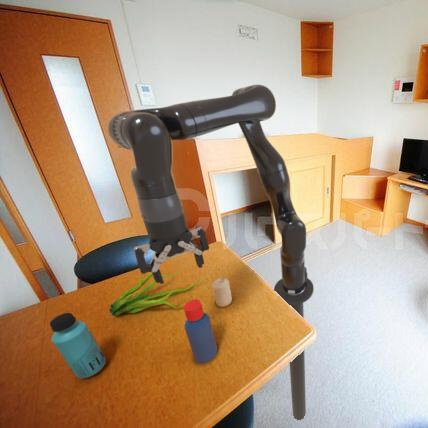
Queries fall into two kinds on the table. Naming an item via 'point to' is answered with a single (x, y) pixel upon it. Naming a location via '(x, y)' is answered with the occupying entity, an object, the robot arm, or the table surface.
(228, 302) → the candle
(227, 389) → the table surface
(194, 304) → the cap
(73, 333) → the beverage bottle
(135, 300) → the decorative plant
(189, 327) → the water bottle
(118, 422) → the table surface
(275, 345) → the table surface
